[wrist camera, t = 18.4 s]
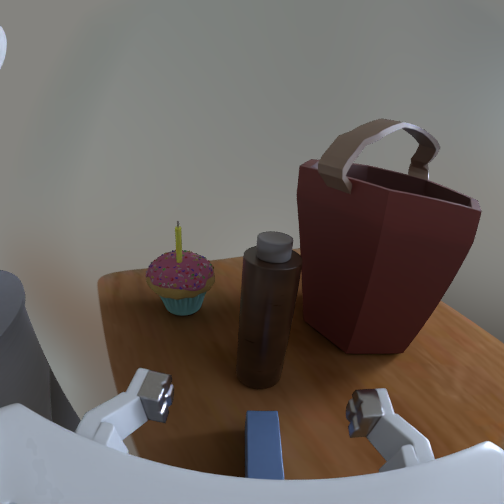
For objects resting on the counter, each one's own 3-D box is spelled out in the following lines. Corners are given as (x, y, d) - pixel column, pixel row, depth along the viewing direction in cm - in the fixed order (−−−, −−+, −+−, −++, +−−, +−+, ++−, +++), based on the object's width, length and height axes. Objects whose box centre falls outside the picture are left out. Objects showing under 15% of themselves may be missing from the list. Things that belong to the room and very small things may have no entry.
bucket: (375, 268, 49) (401, 132, 38) (465, 336, 30) (520, 163, 20) (252, 289, 40) (266, 104, 30) (337, 410, 22) (424, 98, 11)
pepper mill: (250, 395, 23) (267, 252, 18) (228, 365, 26) (234, 230, 21) (289, 378, 25) (318, 243, 20) (265, 352, 29) (281, 225, 23)
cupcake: (221, 321, 33) (222, 225, 28) (150, 328, 30) (136, 230, 25) (208, 284, 40) (208, 203, 35) (150, 289, 38) (142, 207, 33)
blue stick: (282, 532, 11) (289, 527, 10) (245, 533, 11) (248, 529, 10) (273, 425, 20) (277, 410, 19) (244, 425, 20) (246, 410, 19)
